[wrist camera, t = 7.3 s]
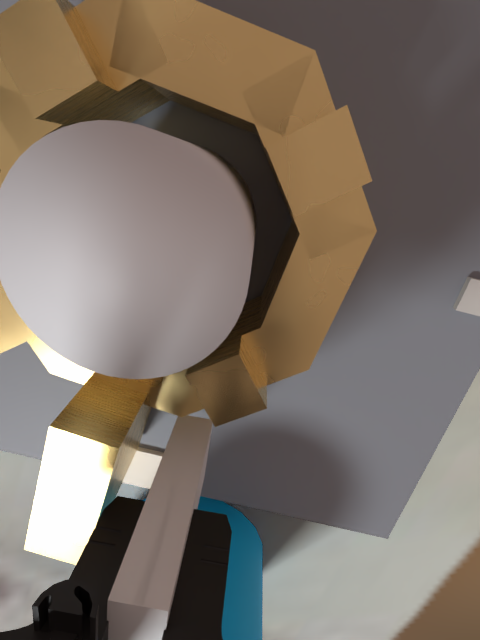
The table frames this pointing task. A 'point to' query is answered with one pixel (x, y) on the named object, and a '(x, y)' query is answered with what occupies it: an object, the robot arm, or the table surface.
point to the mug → (240, 575)
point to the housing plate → (266, 266)
